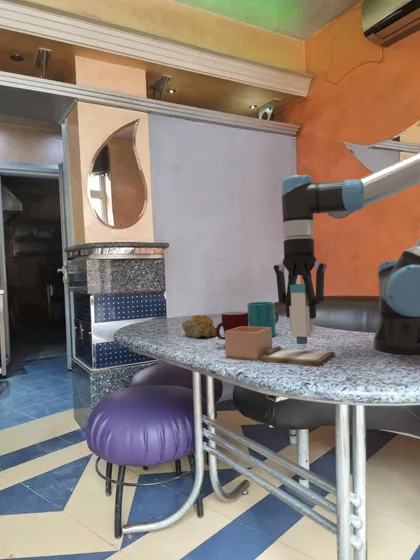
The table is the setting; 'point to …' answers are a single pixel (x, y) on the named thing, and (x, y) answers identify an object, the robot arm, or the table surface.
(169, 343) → the table surface
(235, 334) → the pen pot
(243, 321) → the mug
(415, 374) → the table surface
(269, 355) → the open book
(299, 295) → the marker
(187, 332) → the rock
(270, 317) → the cup
